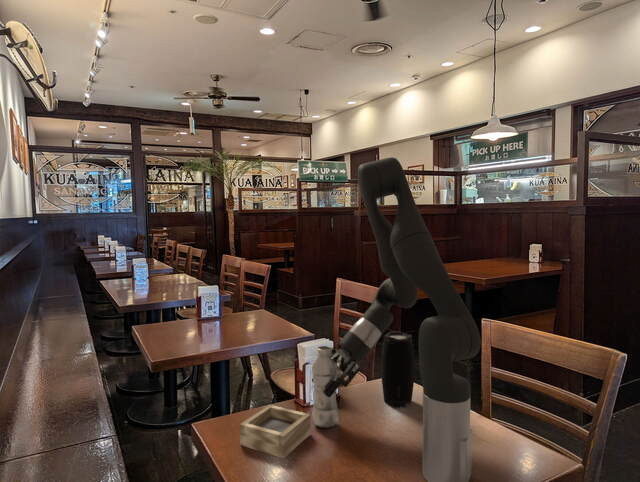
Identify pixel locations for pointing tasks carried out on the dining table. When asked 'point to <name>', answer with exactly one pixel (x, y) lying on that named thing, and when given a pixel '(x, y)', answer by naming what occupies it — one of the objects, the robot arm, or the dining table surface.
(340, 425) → the dining table surface
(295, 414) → the stand
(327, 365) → the plastic bottle
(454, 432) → the robot arm
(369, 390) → the dining table surface
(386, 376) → the portable speaker
